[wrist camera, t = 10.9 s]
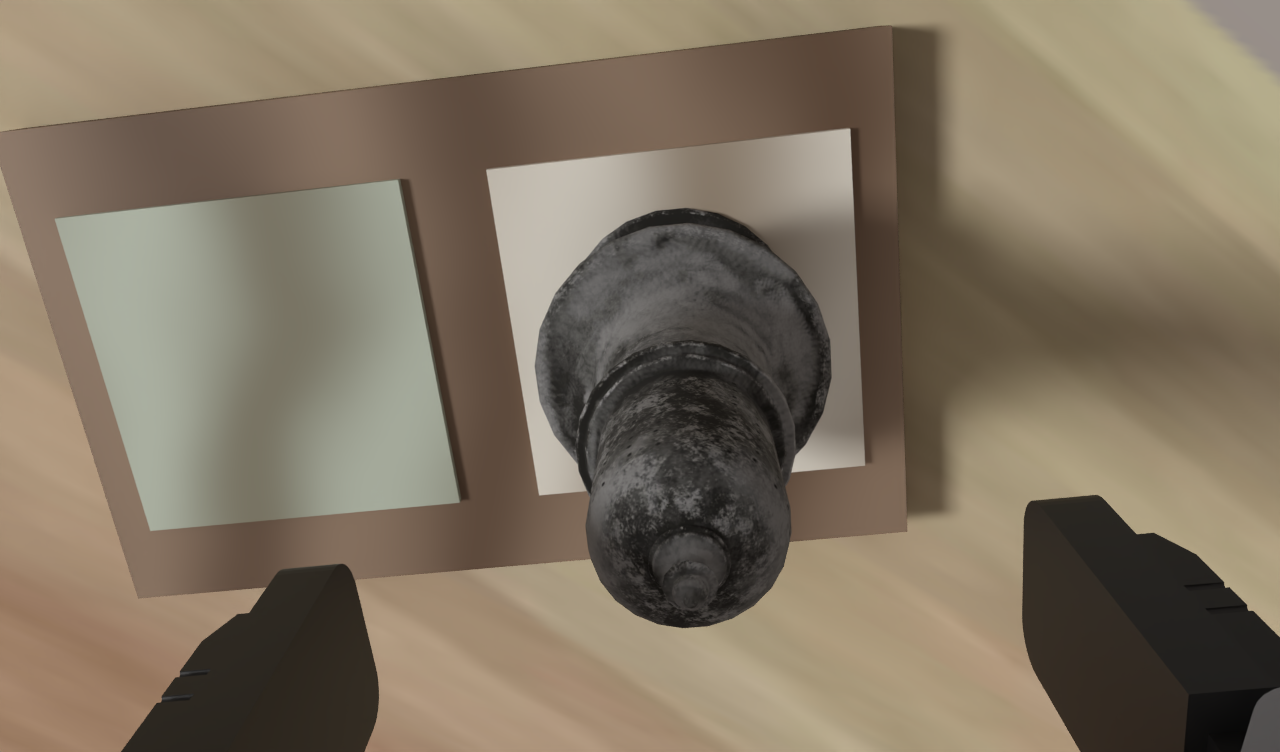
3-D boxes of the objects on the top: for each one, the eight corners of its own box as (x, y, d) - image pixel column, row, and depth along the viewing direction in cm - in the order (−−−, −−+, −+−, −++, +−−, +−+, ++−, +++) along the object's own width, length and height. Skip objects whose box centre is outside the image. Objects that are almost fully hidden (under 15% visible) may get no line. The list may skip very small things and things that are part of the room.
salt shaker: (845, 238, 22) (1026, 454, 11) (760, 468, 24) (838, 852, 13) (594, 160, 22) (511, 301, 11) (526, 400, 24) (395, 736, 12)
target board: (160, 574, 27) (134, 602, 26) (22, 128, 23) (-16, 134, 22) (896, 509, 26) (908, 535, 25) (880, 25, 22) (894, 25, 21)
